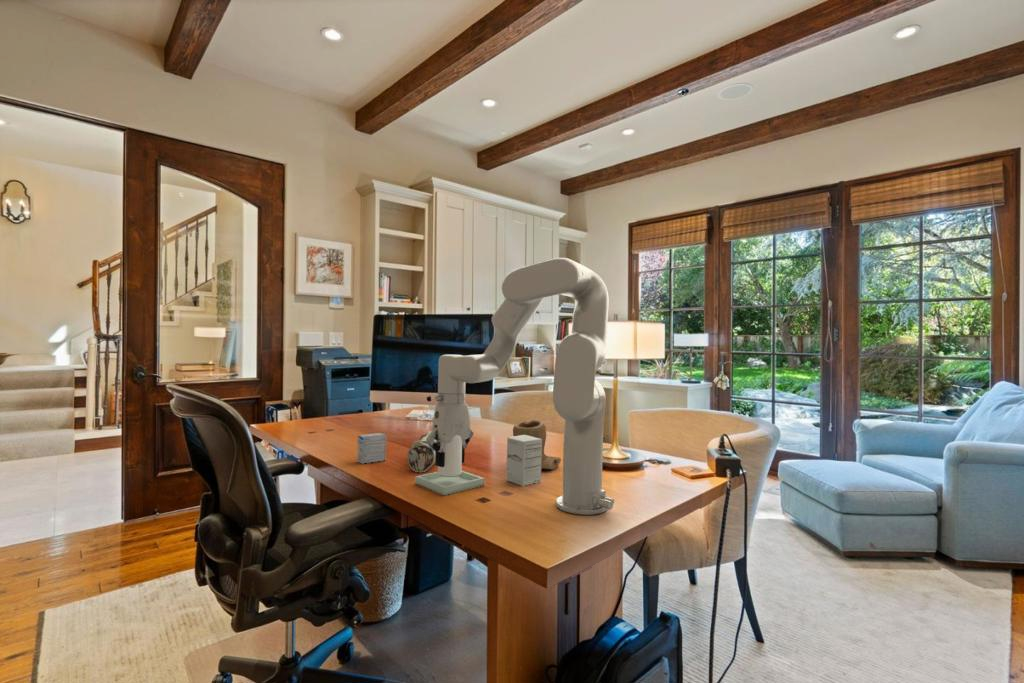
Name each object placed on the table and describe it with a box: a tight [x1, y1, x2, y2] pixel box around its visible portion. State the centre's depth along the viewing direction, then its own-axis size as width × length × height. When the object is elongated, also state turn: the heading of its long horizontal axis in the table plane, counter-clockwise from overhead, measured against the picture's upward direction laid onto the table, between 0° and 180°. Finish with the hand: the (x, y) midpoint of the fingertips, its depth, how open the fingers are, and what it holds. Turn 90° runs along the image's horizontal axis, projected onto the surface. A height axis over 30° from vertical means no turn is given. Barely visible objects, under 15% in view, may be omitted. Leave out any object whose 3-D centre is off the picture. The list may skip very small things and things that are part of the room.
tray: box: [414, 469, 486, 497], centre depth 134 cm, size 14×14×2 cm
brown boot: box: [512, 419, 562, 470], centre depth 154 cm, size 15×12×15 cm
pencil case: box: [406, 430, 436, 474], centre depth 156 cm, size 22×8×10 cm, turn 0°
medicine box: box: [357, 432, 387, 465], centre depth 158 cm, size 8×4×9 cm, turn 130°
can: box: [437, 435, 463, 477], centre depth 134 cm, size 6×6×12 cm
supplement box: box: [505, 435, 542, 487], centre depth 139 cm, size 7×7×13 cm
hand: (450, 463), depth 134 cm, fingers closed on can, 6 cm apart
